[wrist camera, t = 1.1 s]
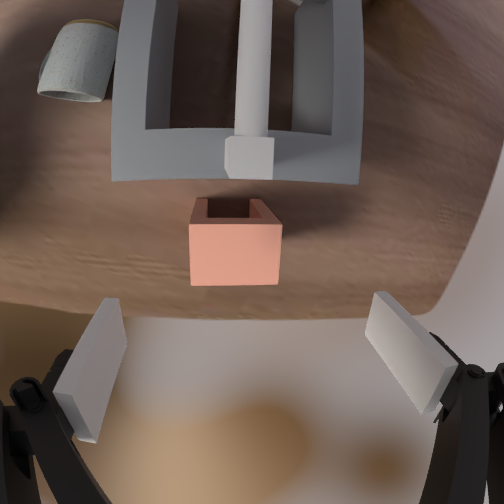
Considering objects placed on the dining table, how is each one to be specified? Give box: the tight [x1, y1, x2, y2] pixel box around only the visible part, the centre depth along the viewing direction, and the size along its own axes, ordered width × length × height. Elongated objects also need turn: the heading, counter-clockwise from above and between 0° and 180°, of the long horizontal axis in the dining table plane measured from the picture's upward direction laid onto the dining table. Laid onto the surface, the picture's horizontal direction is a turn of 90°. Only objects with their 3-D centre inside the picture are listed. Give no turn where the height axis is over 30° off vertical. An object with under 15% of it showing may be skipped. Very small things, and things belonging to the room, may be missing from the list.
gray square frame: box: [111, 0, 364, 185], centre depth 20 cm, size 18×19×19 cm
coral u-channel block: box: [189, 198, 282, 286], centre depth 29 cm, size 7×5×11 cm
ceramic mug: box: [37, 19, 119, 102], centre depth 22 cm, size 11×8×8 cm
